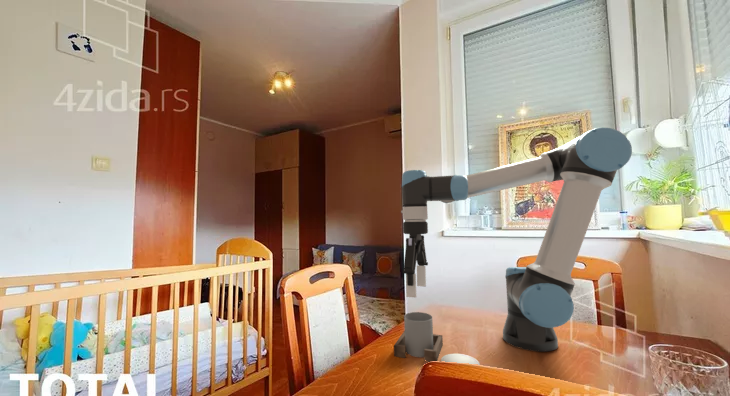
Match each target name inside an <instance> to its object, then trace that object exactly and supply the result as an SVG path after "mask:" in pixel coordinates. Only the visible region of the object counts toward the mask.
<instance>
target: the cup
mask: <svg viewBox="0 0 730 396" xmlns="http://www.w3.org/2000/svg"><path fill="white" fill-rule="evenodd" d="M403 319H404V320H403V321H404V331H405V346H406V355H409V356H411V357H415V358H424V349H431V350H433V349H434V345H433V334H434V330H433V328H434V327H433V326H434V324H433V315H432V314H430V313H427V312H421V311H420V312H419V311H414V312H413V311H412V312H408V313H406V314H404V318H403Z"/></svg>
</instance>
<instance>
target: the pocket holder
mask: <svg viewBox="0 0 730 396" xmlns="http://www.w3.org/2000/svg"><path fill="white" fill-rule="evenodd" d="M443 338H444V337H443V334H435V333H433V350H431V349H424V357H423V358H424V361H425V360H426V361H428V363H431V362H430V361H437V362H438V360H439V357H440V355H441V352H442V349H443V346H444V344H443V343H444V341H443ZM439 354H440V355H439ZM393 356H394V357H396V358H402V359H403V358H404V359H405V358H406V357H407V353H406V346H405V330H404V331H403V332H402V334H401V335H400V336H399V338H398V339H397V341H396V342H395V344H394V345H393ZM426 361H425V362H426Z"/></svg>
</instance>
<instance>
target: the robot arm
mask: <svg viewBox="0 0 730 396" xmlns="http://www.w3.org/2000/svg"><path fill="white" fill-rule="evenodd" d="M632 153H633V148H632V144H631V141H630V140H629V139H628V137H627V136H626V135H625V134H624V133H623V132H621V131H620V130H617V129H614V128H611V127H596V128H593V129H590V130H587V131H585V132H583V133H582V134H580V135H579V136H578V137H575V138H574V139H572V140H571V141H569V142H566V143H565V144H563V145H561V146H559V147H558V148H557V147H556V148H555V149H552V150H550V151H546V152H543V153H540V155H539V157H536V158H531V159H526V160H523V161H519V162H515V163H511V164H506V165H502V166H499V167H495V168H491V169H487V170H482V171H478V172H475V173H470V174H467V175H457V174H453V175H437V176H428V175H427V171H425V170H422V169H411V170H405V171H404V172H403V173H402V176H401V178H402V179H401V196H402V199H401V201H402V209H401V211H400V213H401V214H402V220H403V223H402V234H404V235H409V237H406V239H405V252H404V264H403V270H402V274H404V275H405V283H406V284H405V289H406V290H405V292H406V293H405V295H406V298H415V299H416V298H417V287H427V279H426V278H427V276H426V275H427V273H426V272H427V271H426V270H427V269H426V266H428V265H429V263H428V262H427V253H426V247H425V236H424V235H426V234H428V232H429V229H428V228H429V226H428V222H427V220H428V219H429V218H428V217H429V216H428V202H442V203H443V204H450V203H453V202H458V201H465V200H467V199H469V198H472V197H477V196H482V195H486V194H491V193H495V192H499V191H505V190H508V189H512V188H516V187H521V186H526V185H529V184H534V183H538V182H543V181H546V182H547V183H553V182H559V181H563V184H562V187H561V189H560V192H559V195H558V198H557V201H556V203H555V205H554V206H555V207H554V210H553V211H552V214H551V217H550V220H549V223H548V225H547V229H546V231H545V233H544V237H543V239H542V241H541V244H540V247H539V250H538V253H537V256H536V257H535V261H534V262H533V263H530V264H528V265H526V266H515V267H514V266H510V267H507V268H506V270H505V283H506V285H505V286H506V301H507V302H506V303H507V304H506V305H507V314H506V319H505V322H504V326H503V329H502V339H503V341H505V342H506V343H507V344H509V346H513V347H515V348H517V349H518V348H519V349H520V350H521V349H522V350H526V351H532V352H543V353H544V352H546V353H547V352H552V351H554V350H557V349H558V347H559V343H558V336H557V333H556V331H555V329H554V328H557V327H561V326H564V325H565V324H567V323H568V321H570V320H571V318H572V316H573V314H574V308H575V307H574V305H575V304H574V301H573V298H572V297H571V295H572V293H573V290H574V287H575V285H576V283H575V281H574V280H573V278H572V272H573V269H574V267H575V265H576V261H577V259H578V256H579V252H580V251H581V248H582V245H583V242H584V240H585V239H584V238H585V236H586V234H587V231H588V229H589V225H590V223H591V220H592V217H593V214H594V213H595V209H596V207H597V203H598V201H599V199H600V197H601V192H602V191H603V190H604V189H607V188H609V187H610V186H612V185H613V182H614V179H615V177H616V174H617V171H618V170H621V169H622V168H624V166H625V165H627V164H628V162H629V161H630V159H631V158H632Z"/></svg>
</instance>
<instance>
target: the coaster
mask: <svg viewBox="0 0 730 396" xmlns="http://www.w3.org/2000/svg"><path fill="white" fill-rule="evenodd" d="M441 361H445V362H457V363H469V364H478V365H481V364H480V361H478V360H477V358H475V357H473V356H471V355H467V354H463V353H449V354H445V355H443V356H442V357H441V359H440V362H441Z"/></svg>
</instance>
